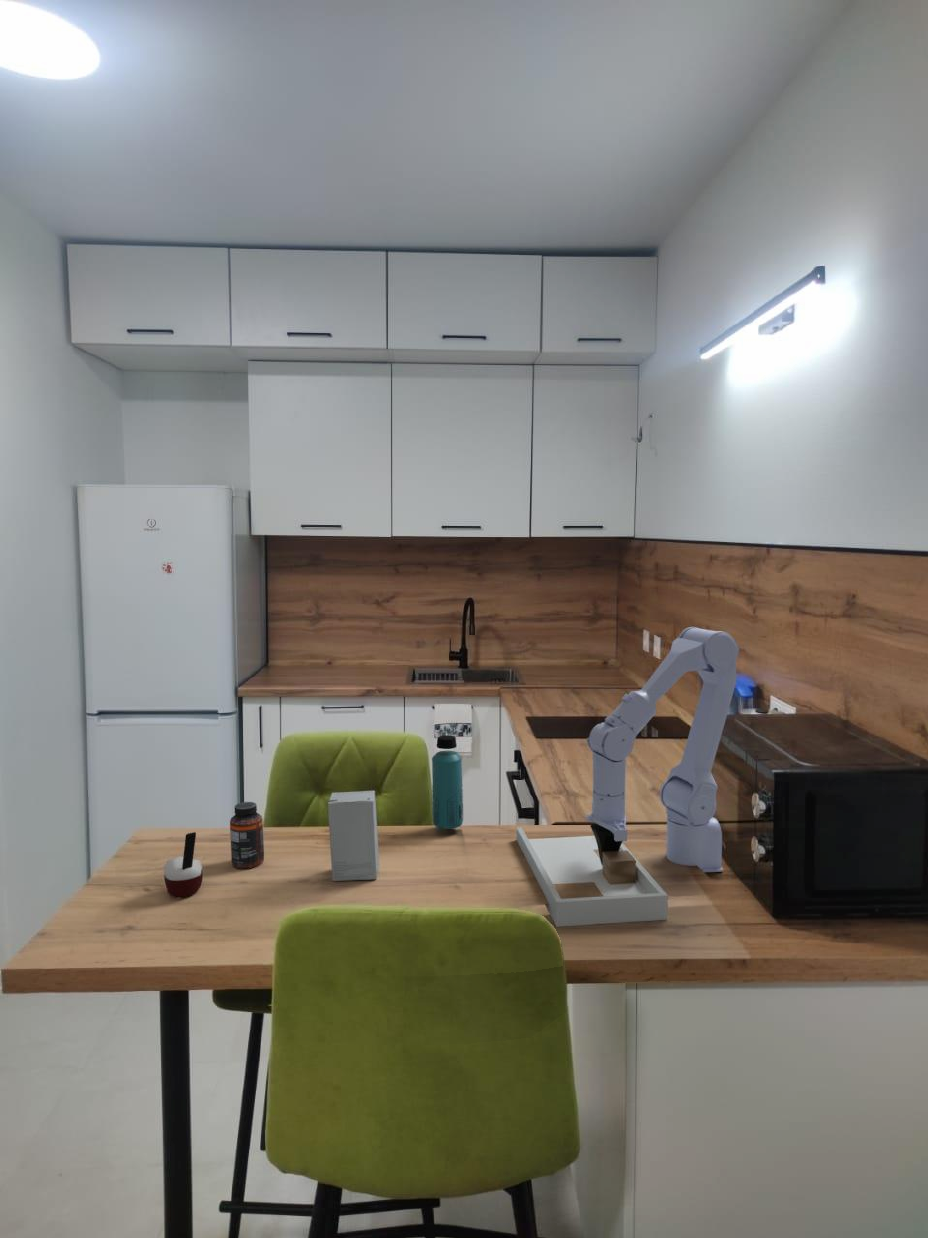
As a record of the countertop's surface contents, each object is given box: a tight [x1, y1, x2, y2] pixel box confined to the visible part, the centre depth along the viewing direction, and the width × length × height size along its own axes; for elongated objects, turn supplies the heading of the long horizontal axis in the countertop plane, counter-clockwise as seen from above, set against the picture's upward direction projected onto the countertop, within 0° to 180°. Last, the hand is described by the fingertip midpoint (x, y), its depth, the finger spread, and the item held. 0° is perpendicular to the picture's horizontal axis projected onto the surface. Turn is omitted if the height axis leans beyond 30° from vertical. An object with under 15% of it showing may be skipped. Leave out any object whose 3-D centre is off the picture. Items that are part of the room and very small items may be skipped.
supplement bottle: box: [229, 801, 265, 869], centre depth 149 cm, size 6×6×11 cm
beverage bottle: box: [431, 735, 464, 830], centre depth 165 cm, size 6×7×20 cm
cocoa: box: [163, 831, 204, 899], centre depth 135 cm, size 10×6×12 cm, turn 16°
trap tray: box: [516, 826, 669, 928], centre depth 141 cm, size 18×33×4 cm, turn 7°
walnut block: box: [602, 851, 636, 884], centre depth 138 cm, size 4×4×4 cm
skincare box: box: [327, 790, 380, 882], centre depth 143 cm, size 8×6×15 cm
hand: (608, 865), depth 142 cm, fingers closed
